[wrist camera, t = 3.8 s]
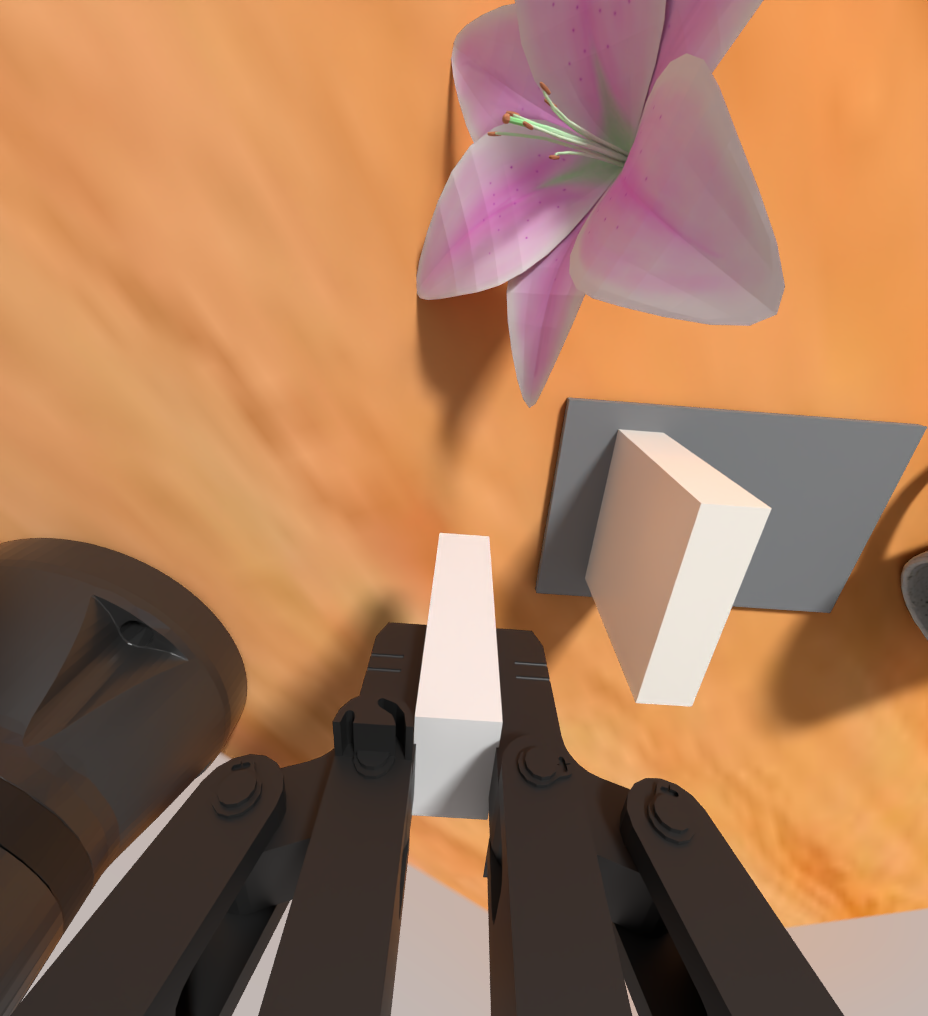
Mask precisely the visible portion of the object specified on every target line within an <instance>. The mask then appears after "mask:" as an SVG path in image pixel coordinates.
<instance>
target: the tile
mask: <svg viewBox="0 0 928 1016" xmlns="http://www.w3.org/2000/svg"><path fill="white" fill-rule="evenodd" d="M771 509H772V508H770V507H769V506H768V505H766V504H765V503H763V502H762V501H760V500H759V499H758V498H756V497H755V496H753V495H752V494H750V493H749V492H748V491H746V490H745V489H743V488H742V487H740V486H739V485H738V484H736V483H735V482H733V481H732V480H730V479H729V478H728V477H726V476H725V475H723V474H722V473H720V472H719V471H718V470H716V469H715V468H713V467H712V466H710V465H709V464H708V463H706V462H705V461H703V460H702V459H700V458H699V457H698V456H696V455H695V454H693V453H692V452H690V451H689V450H688V449H686V448H685V447H683V446H682V445H680V444H679V443H678V442H676V441H675V440H673V439H672V438H670V437H669V436H668V435H666V434H665V433H661V432H648V431H635V430H621V429H618V433H617V437H616V442H615V446H614V451H613V455H612V459H611V464H610V468H609V473H608V477H607V482H606V486H605V491H604V495H603V500H602V504H601V509H600V513H599V518H598V522H597V527H596V531H595V535H594V540H593V544H592V549H591V553H590V558H589V562H588V567H587V571H586V576H585V580H586V582H587V585H588V587H589V589H590V592H591V594H592V597H593V599H594V602H595V604H596V607H597V609H598V611H599V614H600V616H601V619H602V621H603V624H604V626H605V629H606V631H607V633H608V636H609V638H610V641H611V643H612V646H613V648H614V651H615V653H616V655H617V658H618V660H619V663H620V665H621V668H622V670H623V673H624V675H625V678H626V680H627V682H628V685H629V687H630V690H631V692H632V695H633V697H634V700H635V702H636V703H645V704H660V705H676V706H692V705H693V702H694V700H695V697H696V695H697V692H698V690H699V687H700V685H701V682H702V680H703V677H704V675H705V672H706V670H707V667H708V665H709V663H710V660H711V658H712V655H713V653H714V650H715V648H716V645H717V643H718V640H719V638H720V635H721V633H722V630H723V628H724V625H725V623H726V620H727V618H728V615H729V613H730V610H731V608H732V605H733V603H734V601H735V598H736V596H737V593H738V591H739V588H740V586H741V583H742V581H743V578H744V576H745V573H746V571H747V568H748V566H749V563H750V561H751V558H752V556H753V553H754V551H755V548H756V546H757V543H758V541H759V538H760V536H761V534H762V531H763V529H764V526H765V524H766V521H767V519H768V516H769V514H770V511H771Z"/></svg>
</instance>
